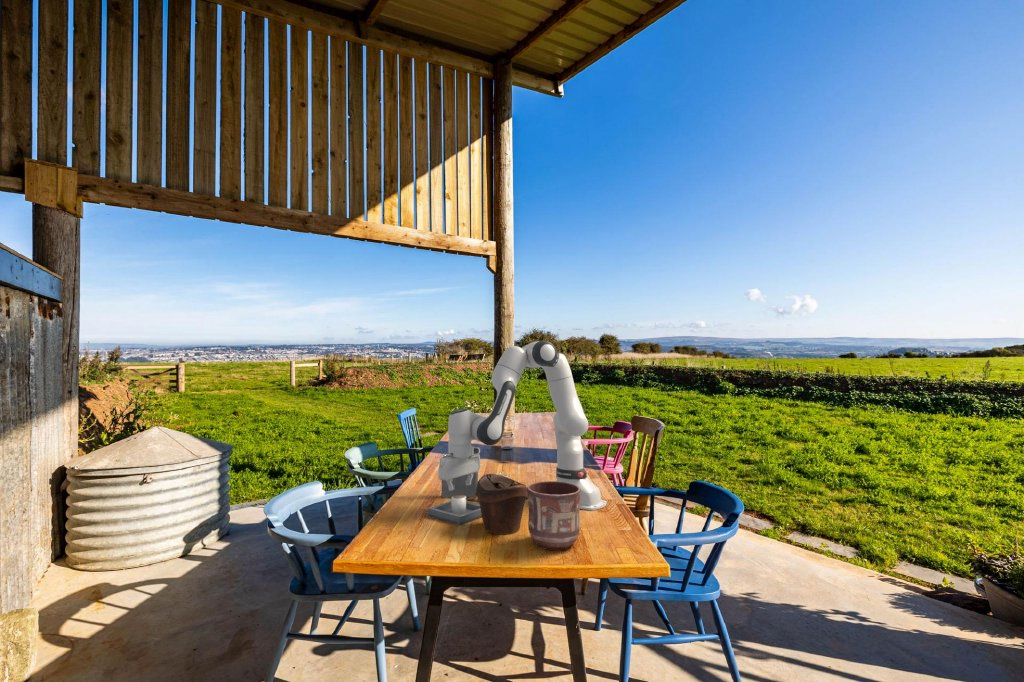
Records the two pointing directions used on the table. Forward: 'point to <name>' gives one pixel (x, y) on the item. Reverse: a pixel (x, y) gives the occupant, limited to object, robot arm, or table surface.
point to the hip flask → (460, 487)
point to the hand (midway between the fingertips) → (460, 487)
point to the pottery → (554, 514)
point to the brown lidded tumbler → (501, 503)
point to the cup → (458, 504)
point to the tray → (445, 514)
